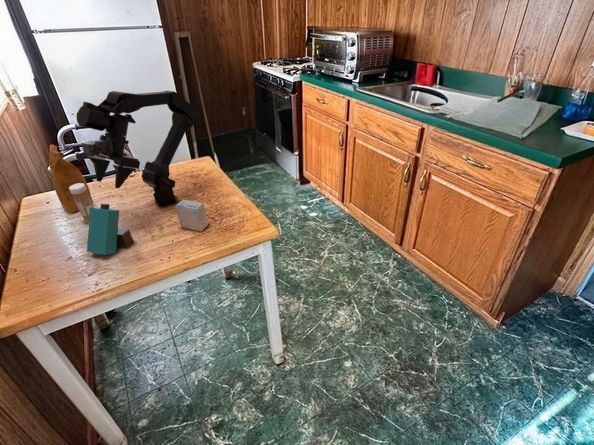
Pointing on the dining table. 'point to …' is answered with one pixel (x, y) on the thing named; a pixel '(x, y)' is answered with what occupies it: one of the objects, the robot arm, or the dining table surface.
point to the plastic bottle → (102, 230)
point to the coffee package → (65, 179)
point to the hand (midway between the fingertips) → (107, 184)
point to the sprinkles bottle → (82, 200)
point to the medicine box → (192, 215)
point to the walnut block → (124, 238)
